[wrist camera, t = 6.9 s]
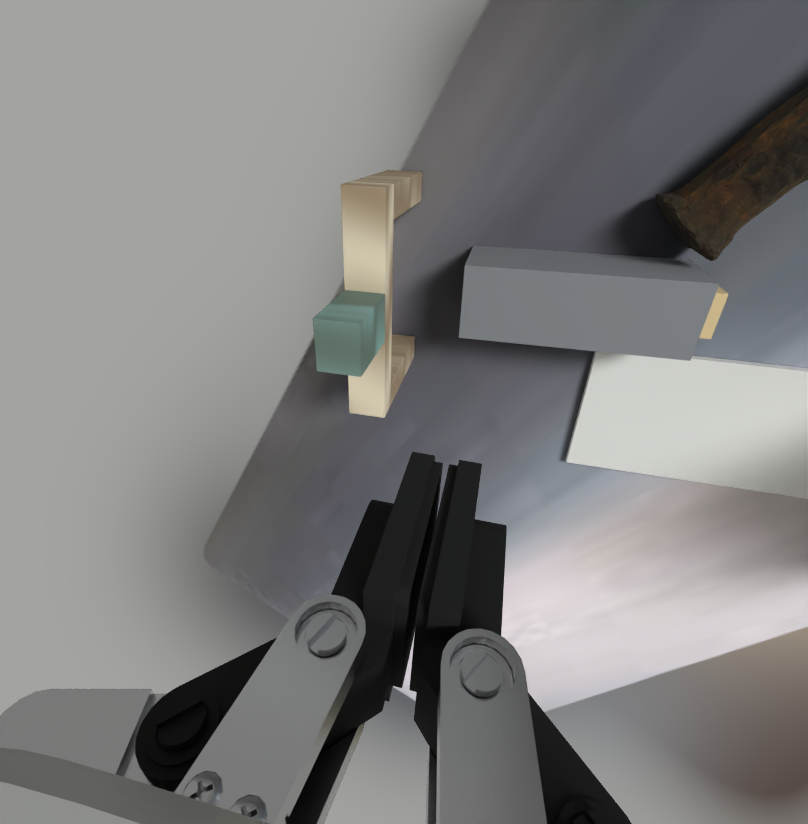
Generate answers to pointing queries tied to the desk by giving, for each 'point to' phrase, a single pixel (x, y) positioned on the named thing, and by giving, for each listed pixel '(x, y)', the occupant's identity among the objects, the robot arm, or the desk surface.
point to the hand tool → (742, 180)
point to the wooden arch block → (368, 294)
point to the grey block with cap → (589, 301)
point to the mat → (696, 421)
